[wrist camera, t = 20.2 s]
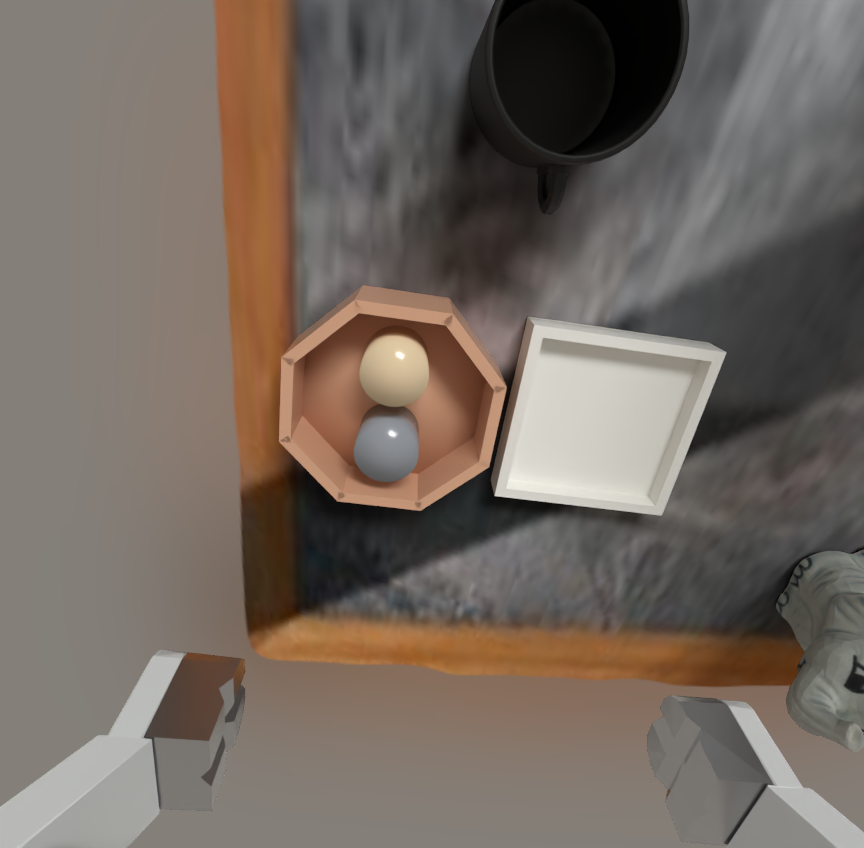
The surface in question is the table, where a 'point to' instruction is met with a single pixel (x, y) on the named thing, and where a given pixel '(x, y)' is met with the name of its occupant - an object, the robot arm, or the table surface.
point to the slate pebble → (387, 443)
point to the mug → (574, 80)
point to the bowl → (348, 402)
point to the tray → (601, 415)
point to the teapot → (828, 645)
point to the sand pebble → (395, 366)
